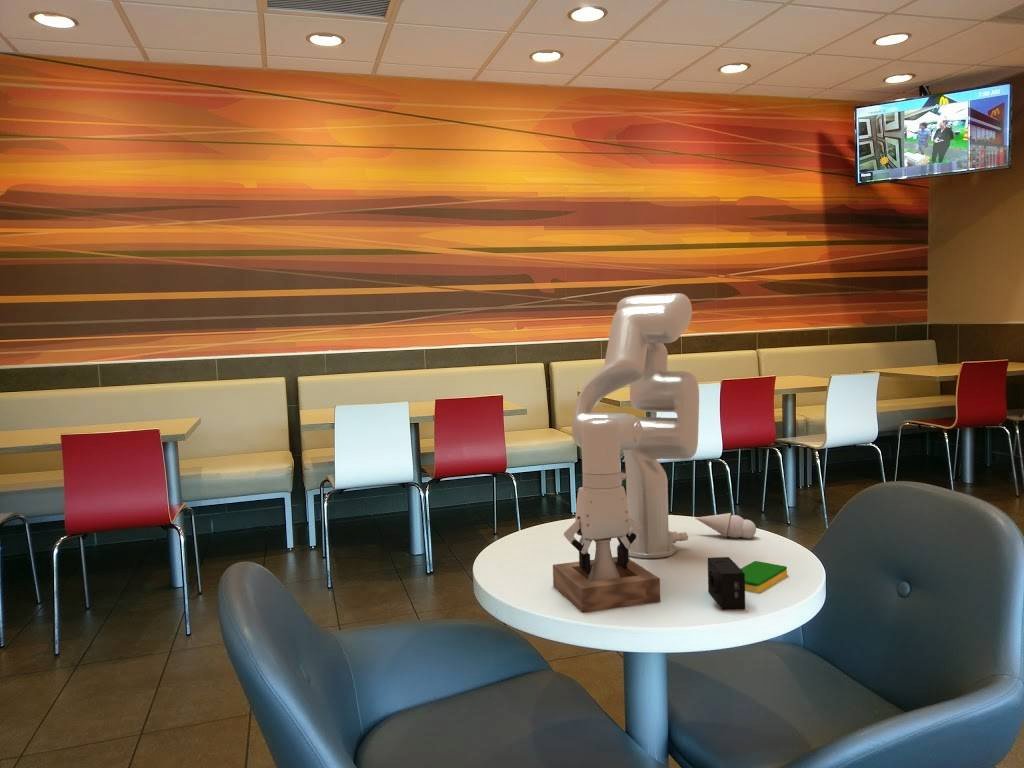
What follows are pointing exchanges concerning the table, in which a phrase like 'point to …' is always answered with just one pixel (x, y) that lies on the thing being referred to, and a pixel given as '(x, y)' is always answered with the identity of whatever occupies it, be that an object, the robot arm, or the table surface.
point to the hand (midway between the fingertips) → (604, 568)
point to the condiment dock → (606, 586)
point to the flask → (603, 562)
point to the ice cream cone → (730, 525)
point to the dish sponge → (762, 575)
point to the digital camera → (726, 583)
